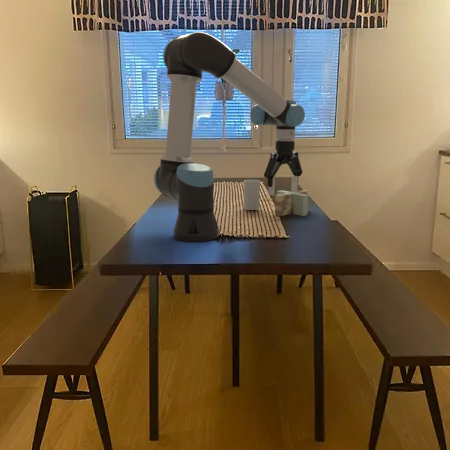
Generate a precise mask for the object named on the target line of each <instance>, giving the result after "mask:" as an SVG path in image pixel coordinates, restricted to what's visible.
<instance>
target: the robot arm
mask: <svg viewBox="0 0 450 450" xmlns="http://www.w3.org/2000/svg"><path fill="white" fill-rule="evenodd" d="M162 52H163V54H162V60H163V64H164V66H165V67H166V69H167V71H166V72H167V73H166V77H167V78H168V79H169V81H170V93H169V94H170V95H169V103H168V104H169V105H168V117H167V118H168V119H167V132H166V144H165V153H164V155H163V156H162V157H160V164H159V165H158V168H157V169H156V170H155V172H154V177H153V181H154V186H155V188H156V189H157V191H159V193H160V194H162V195H163V196H165V198H166V197H167V198H169V199H174V200H175V201H177V211H178V212H177V217H176V220H175V224H174V228H173V238H174V239H175V240H178V241H182V242H189V243H201V242H210V241H213V240H215V239H217V238H219V237H220V229H219V225H218V222H217V218H216V216H215V214H214V213H215V212H214V208H215V207H214V182H215V179H214V173H213V172H214V171H213V169H212V168H211V167H210V166H209V165H205V164H202V163H201V164H199V163H195V160H194V159H193V158H192V157H191V152H192V141H193V132H194V131H193V130H194V121H195V120H194V119H195V110H196V109H195V107H196V106H195V105H196V98H197V97H196V96H197V85H198V84H199V83H200V82H202V80H203V79H202V78H203V72H206V73H209V74H211V76H213V77H215V78H217V79H223V80H224V81H225V82H226V83H228V84H229V85H230V86H231V87H233V88H234V89H236V90H237V92H238V91H239V92H240V93H241V94H242V95H243V96H245V97H246V98H247V99H249V100H250V101H252V103H254V104H255V105H253V107H251V110H250V113H249V114H250V116H249V117H250V121H251V123H252V124H253V125H256V126H275V129H276V130H275V140H276V141H275V150H276V153H275V152H271V153H270V157H269V159H268V160H269V161H268V163H267V166H266V169H265V170H264V171H265V172H264V174H263V177H265V178H266V179H267V189H268V190H267V195H269V196H275V185H276V184H275V182H276V178H274V177H276V175H277V172H278V171H279V169H280V168H281V167H282V166H283V165H288V167H289V169H290V172H291V173H292V174H293V175H291V182H290V183H291V184H290V185H291V186H290V187H291V188H290V192H295V191H298V184H299V177H301V175H303V169H302V168H303V167H302V165H301V162H300V159H299V152H298V151H294V150H295V144H296V142H295V139H296V138H295V137H296V127H298V126H301V125H302V124H303V122H304V119H305V117H306V112H305V109H304V107H303V106H302V105H301V104H297V101H295V100H293V99H286V98H284V97H283V95H281V94H280V93H279V92H277V90H275V89H274V88H273V87H271V86H270V85H269V84H268V83H267V82H266V81H264V80H263V79H262V78H261V77H260V76H258V75H257V74H256V73H254V71H252V70H251V69H250V68H249V67H247V66H246V65H245V64H244V63H243V62H241V61H240V60H239V59H237V57H236V56H237V55H236V53H235V51H233V50H232V49H231V48H230V47H229V46H228V45H226V44H225V43H224V42H222V41H221V40H219V39H218V38H216V37H215V36H213V35H211V34H210V33H207V32H202V31H195V32H192V33H187V34H184V35H183V34H181V35H178V36H176V37H174V38H172V39H171V40H169V41H168V42H167V43H166V45H165V47H164V49H163V51H162Z"/></svg>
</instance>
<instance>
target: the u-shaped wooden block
mask: <svg viewBox="0 0 450 450" xmlns="http://www.w3.org/2000/svg"><path fill="white" fill-rule="evenodd" d="M295 193H300V194H306V195H308V196H309V191H308V190H306V189H305V190H303V189H302V190H297V191H295ZM274 196H275V197H274V200H275V202H274V206H275V207H274V215H275V214H277V215H276V216H278V215H279V217H283V216H286V215H291V214H293V205H294V204H291V194H288V193H283V194H278V195H277V194H274Z"/></svg>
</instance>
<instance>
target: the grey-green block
mask: <svg viewBox="0 0 450 450" xmlns="http://www.w3.org/2000/svg"><path fill="white" fill-rule="evenodd" d="M283 193H288V194H291V204H294V205H293V213H292V214H293V215H297V216H301V217H305V216H308V215H309V213H308V212H309V211H308V210H309V194H308V195H306V194H300V193H295V192H293V191H289V190H288V191H287V190H283V189H282V190H277V191H276V195H278V194H283Z"/></svg>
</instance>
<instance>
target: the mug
mask: <svg viewBox="0 0 450 450" xmlns="http://www.w3.org/2000/svg"><path fill="white" fill-rule="evenodd" d="M260 193H261V180H259V179H244V180H243V209H245V211H247V210H252V211H251V212H254V211H253V210H256V211H259V210H260V195H261V194H260Z"/></svg>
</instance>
